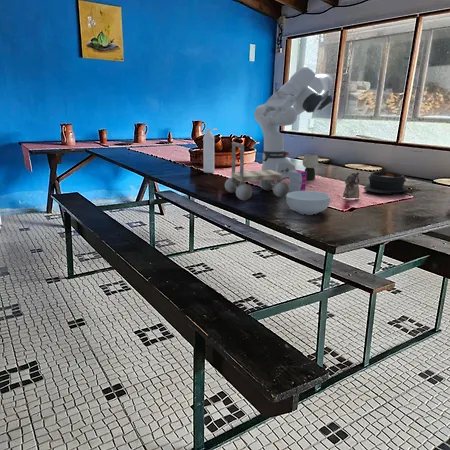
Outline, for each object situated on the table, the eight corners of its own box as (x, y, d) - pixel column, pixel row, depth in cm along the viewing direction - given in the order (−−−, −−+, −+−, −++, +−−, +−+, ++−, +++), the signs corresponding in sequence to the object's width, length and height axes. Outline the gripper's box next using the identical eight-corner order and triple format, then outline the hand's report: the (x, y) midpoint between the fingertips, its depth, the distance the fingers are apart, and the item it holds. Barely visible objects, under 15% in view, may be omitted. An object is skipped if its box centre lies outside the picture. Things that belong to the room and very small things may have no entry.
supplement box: (298, 197, 183) (300, 172, 180) (287, 195, 187) (289, 170, 184) (305, 195, 187) (307, 171, 184) (294, 193, 191) (296, 169, 188)
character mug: (312, 177, 229) (313, 153, 225) (321, 179, 223) (323, 155, 219) (297, 178, 224) (298, 155, 220) (306, 181, 218) (307, 156, 214)
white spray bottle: (206, 173, 237) (206, 129, 230) (201, 171, 243) (201, 128, 235) (219, 172, 241) (219, 128, 234) (214, 170, 247) (214, 128, 239)
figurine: (340, 196, 186) (343, 170, 182) (356, 196, 186) (359, 170, 182) (344, 200, 179) (347, 173, 176) (360, 200, 179) (364, 173, 175)
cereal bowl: (322, 206, 169) (324, 190, 167) (334, 218, 154) (336, 200, 151) (282, 206, 169) (283, 190, 167) (289, 218, 153) (290, 200, 151)
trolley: (272, 189, 200) (274, 139, 192) (288, 196, 185) (291, 143, 178) (224, 192, 192) (224, 141, 184) (237, 201, 177) (238, 145, 170)
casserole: (381, 184, 211) (383, 168, 209) (416, 191, 198) (419, 174, 195) (353, 191, 196) (355, 174, 194) (389, 199, 182) (392, 180, 180)
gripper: (302, 100, 183) (281, 122, 183) (281, 99, 202) (262, 120, 201) (293, 89, 180) (272, 112, 180) (274, 90, 199) (254, 110, 199)
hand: (267, 116), depth 191 cm, fingers open, 8 cm apart
